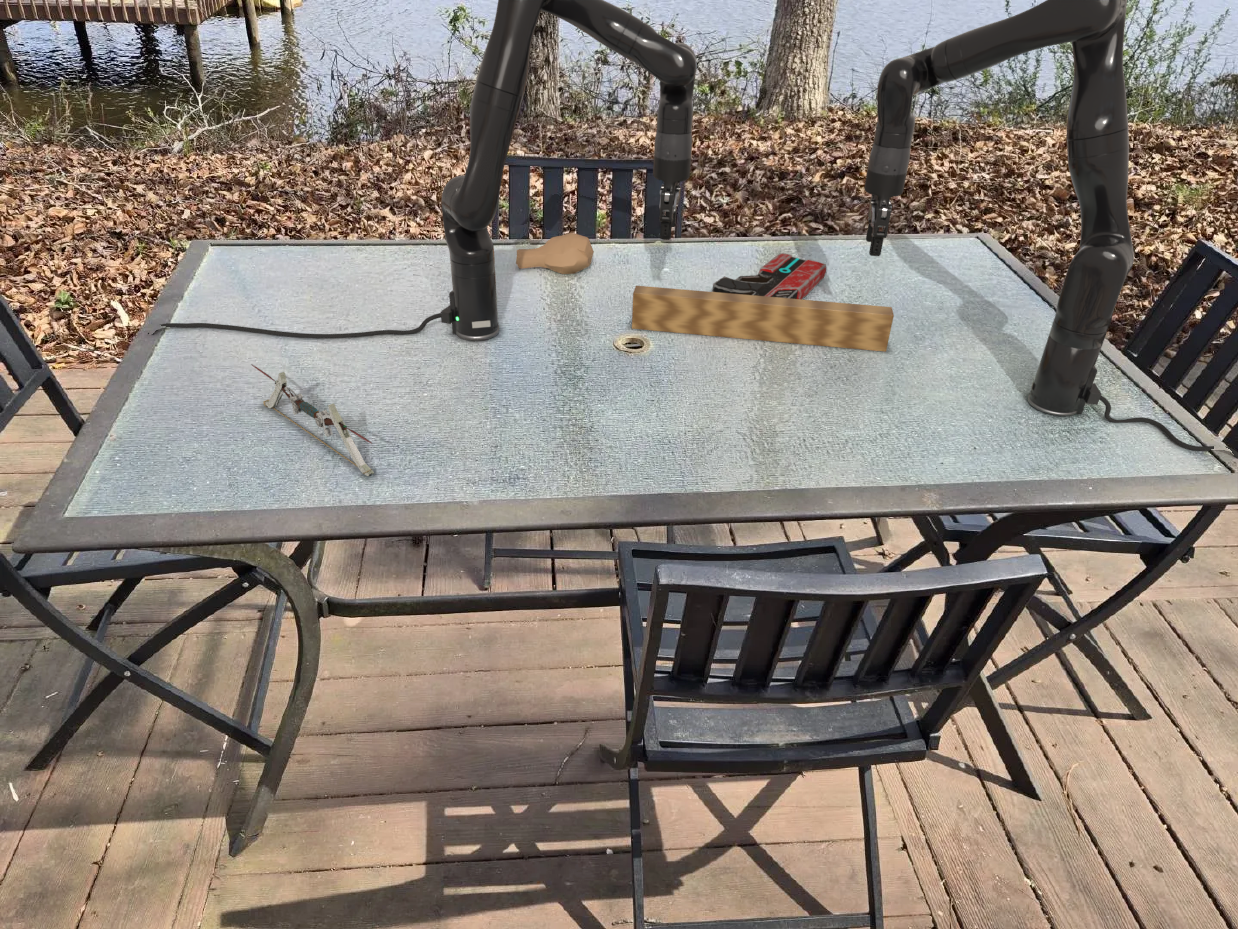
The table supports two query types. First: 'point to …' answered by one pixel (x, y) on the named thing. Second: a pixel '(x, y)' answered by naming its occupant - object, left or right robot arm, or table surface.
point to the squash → (559, 254)
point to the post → (762, 318)
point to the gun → (777, 279)
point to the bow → (318, 419)
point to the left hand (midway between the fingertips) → (667, 232)
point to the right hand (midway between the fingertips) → (872, 248)
